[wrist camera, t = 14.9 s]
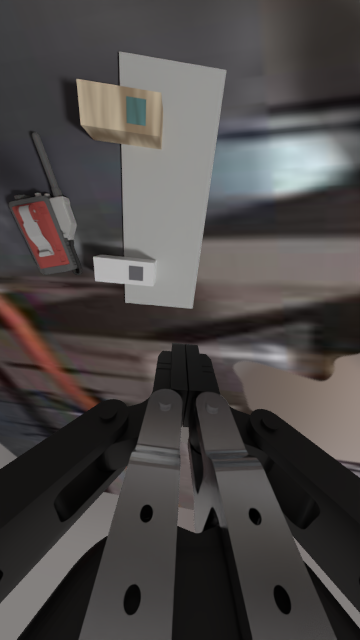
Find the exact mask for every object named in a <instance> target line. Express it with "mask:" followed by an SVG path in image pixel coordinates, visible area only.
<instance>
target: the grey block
mask: <svg viewBox="0 0 360 640" xmlns="http://www.w3.org/2000/svg"><path fill="white" fill-rule="evenodd" d="M93 261H94V271H95V281H101V282H111V283H122V284H132V285H142V286H154V284H155V281H156V261H157V260H150V259H140V258H131V257H121V256H112V255H98V256H94V257H93Z"/></svg>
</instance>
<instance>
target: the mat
mask: <svg viewBox="0 0 360 640" xmlns="http://www.w3.org/2000/svg"><path fill="white" fill-rule="evenodd" d="M119 68H120V86H124V87H130V88H136V89H142V90H148V91H154V92H161V95H162V104H163V132H162V150H161V149H154V148H147V147H140V146H133V145H126V144H121V149H122V189H123V230H124V257H131V258H140V259H150V260H157V261H156V281H155V284H154V286H142V285H132V284H125V303H136V304H147V305H159V306H170V307H181V308H193V301H194V294H195V287H196V280H197V273H198V266H199V259H200V252H201V245H202V238H203V231H204V224H205V217H206V210H207V203H208V196H209V189H210V182H211V175H212V168H213V161H214V154H215V147H216V140H217V133H218V125H219V118H220V111H221V104H222V97H223V90H224V83H225V76H226V70H222V69H217V68H211V67H205V66H199V65H194V64H188V63H182V62H176V61H171V60H165V59H159V58H153V57H148V56H142V55H136V54H130V53H125V52H119Z"/></svg>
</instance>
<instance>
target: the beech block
mask: <svg viewBox="0 0 360 640" xmlns="http://www.w3.org/2000/svg"><path fill="white" fill-rule="evenodd" d="M76 80H77V91H78V101H79V112H80V123H81V126H82V127H83V128H84V129H85V130H86V132H87V133H88V134H89V135H90V136H91V137H92V139H93V140H98V141H105V142H112V143H119V144H126V145H133V146H140V147H147V148H154V149H161V150H162V132H163V104H162V95H161V92H154V91H148V90H142V89H136V88H130V87H124V86H118V85H111V84H105V83H99V82H93V81H87V80H81V79H76Z"/></svg>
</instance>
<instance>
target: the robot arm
mask: <svg viewBox="0 0 360 640" xmlns="http://www.w3.org/2000/svg"><path fill="white" fill-rule="evenodd" d="M182 422H183V427H189V439H188V452H189V460H190V468H191V477H192V485H193V493H194V526H195V533H193V532H190V531H188V530H186V529H183V528H181V527H179V526H177V521H178V502H179V482H180V438H181V427H182ZM126 466H127V470H126V473H125V477H124V480H123V484H122V488H121V491H120V495H119V498H118V502H117V505H116V509H115V512H114V516H113V520H112V523H111V527H110V531H109V534H108V536H106V537H105V538H103V539H102V540H100V541H99V542H98V543H96V544H95V545H94V546H93V547H92V548H90V549H89V550H88V551H87V552H86V553H85V554H84V555H83V556H82V557H81V558H80V559H79V560H78V561H77V563H76V564H75V565H74V566H73V567H72V568H71V570H70V571H69V572H68V574H67V575H66V576H65V577H64V579H63V580H62V581H61V583H60V584H59V585H58V586H57V588H56V589H55V590H54V592H53V593H52V594H51V596H50V597H49V598H48V599H47V601H46V602H45V603H44V605H43V606H42V608H41V609H40V610H39V611H38V613H37V614H36V615H35V616H34V618H33V619H32V620H31V622H30V623H29V624H28V626H27V627H26V628H25V629H24V631H23V632H22V634H21V635H20V636H19V637H18V639H17V640H360V628H359V627H358V626H357V625H356V623H355V622H354V621H353V620H352V619H351V617H350V616H349V615H348V614H347V612H346V611H345V610H344V609H343V608H342V606H341V605H340V604H339V602H338V601H337V600H336V599H335V598H334V596H333V595H332V594H331V593H330V591H329V590H328V589H327V588H326V587H325V585H324V584H323V583H322V582H321V580H320V579H319V578H318V577H317V575H316V574H315V573H314V572H313V571H312V569H311V568H310V567H309V566H308V565H307V564H306V563H305V562H304V561H303V559H302V557H301V555H300V552H299V550H298V548H297V545H296V543H295V541H294V538H295V539H296V540H297V541H298V542H299V544H300V545H301V546H302V547H303V548H304V549H305V551H306V552H307V553H308V554H309V555H310V556H311V557H312V559H313V560H314V561H315V562H316V563H317V564H318V565H319V566H320V568H321V569H322V570H323V571H324V572H325V573H326V575H327V576H328V577H329V578H330V579H331V580H332V581H333V583H334V584H335V585H336V586H337V587H338V588H339V589H340V590H341V592H342V593H343V594H344V595H345V596H346V597H347V598H348V600H349V601H350V602H351V603H352V604H353V605H354V607H356V609H357V610H358V611H359V612H360V478H359V477H358V476H357V475H355V474H354V473H353V472H351V471H350V470H349V469H347V468H346V467H345V466H343V465H342V464H341V463H339V462H338V461H337V460H335V459H334V458H333V457H331V456H330V455H329V454H327V453H326V452H325V451H323V450H322V449H321V448H320V447H318V446H317V445H315V444H314V443H313V442H311V441H310V440H309V439H308V438H306V437H305V436H304V435H302V434H301V433H300V432H298V431H297V430H296V429H294V428H293V427H292V426H290V425H289V424H288V423H286V422H285V421H284V420H282V419H281V418H280V417H278V416H277V415H276V414H274V413H272V412H270V411H268V410H264V409H257V410H255V411H253V412H252V413H251V415H249V414H246V413H243V412H240V411H237V410H235V409H233V408H231V407H230V406H229V405H228V403H227V401H226V400H225V399H224V398H223V397H222V396H221V395H220V392H219V388H218V384H217V380H216V377H215V373H214V369H213V366H212V362H211V359H210V358H209V357H208V356H207V355H206V354H199V349H198V345H191V344H178V343H172V351H162V352H161V353H160V355H159V356H158V361H157V368H156V374H155V380H154V387H153V392H152V394H151V396H150V397H149V398H148V399H147V400H146V401H144V402H142V403H140V404H137V405H133V406H128V407H127V406H126V404H125V403H124V402H122V401H120V400H116V399H110V400H106V401H103V402H101V403H99V404H97V405H96V406H94V407H93V408H91V409H90V410H88V411H87V412H85V413H84V414H82V415H81V416H79V417H78V418H76V419H75V420H73V421H72V422H70V423H69V424H67V425H66V426H64V427H63V428H61V429H60V430H58V431H57V432H55V433H54V434H52V435H51V436H49V437H48V438H46V439H45V440H43V441H42V442H40V443H39V444H37V445H36V446H34V447H33V448H31V449H30V450H28V451H27V452H25V453H24V454H22V455H21V456H19V457H18V458H16V459H15V460H14V461H12V462H10V463H9V464H7V465H6V466H4V467H3V468H1V469H0V603H1V602H2V601H3V600H4V598H5V597H6V596H7V595H8V594H9V593H10V592H11V591H12V590H13V589H14V588H15V587H16V585H18V583H19V582H20V581H21V580H22V579H23V578H24V577H25V576H26V575H27V574H28V573H29V571H30V570H31V569H32V568H33V567H34V566H35V565H36V564H37V563H38V562H39V561H40V560H41V559H42V558H43V556H44V555H45V554H46V553H47V552H48V551H49V550H50V549H51V548H52V547H53V546H54V545H55V544H56V542H57V541H58V540H59V539H60V538H61V537H62V536H63V535H64V534H65V533H66V532H67V531H68V530H69V528H70V527H71V526H72V525H73V524H74V523H75V522H76V521H77V520H78V519H79V518H80V517H81V515H82V514H83V513H84V512H85V511H86V510H87V509H88V508H89V507H90V506H91V505H92V504H93V503H94V501H95V500H96V499H97V498H98V497H99V496H100V495H101V494H102V493H103V492H104V491H105V490H106V489H107V487H108V486H109V485H110V484H111V483H112V482H113V481H114V480H115V479H116V478H117V477H118V476H119V475H120V473H121V472H122V471H123V470H124V469H125V467H126ZM293 537H294V538H293Z"/></svg>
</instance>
